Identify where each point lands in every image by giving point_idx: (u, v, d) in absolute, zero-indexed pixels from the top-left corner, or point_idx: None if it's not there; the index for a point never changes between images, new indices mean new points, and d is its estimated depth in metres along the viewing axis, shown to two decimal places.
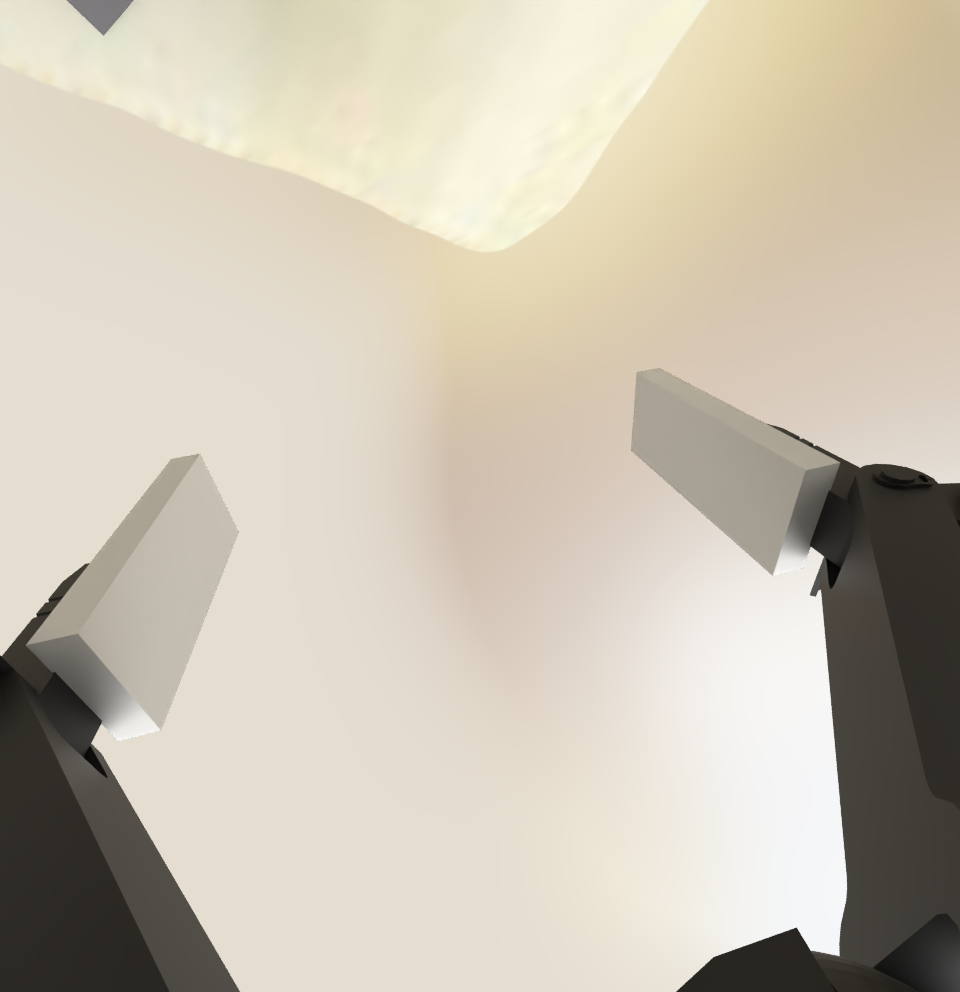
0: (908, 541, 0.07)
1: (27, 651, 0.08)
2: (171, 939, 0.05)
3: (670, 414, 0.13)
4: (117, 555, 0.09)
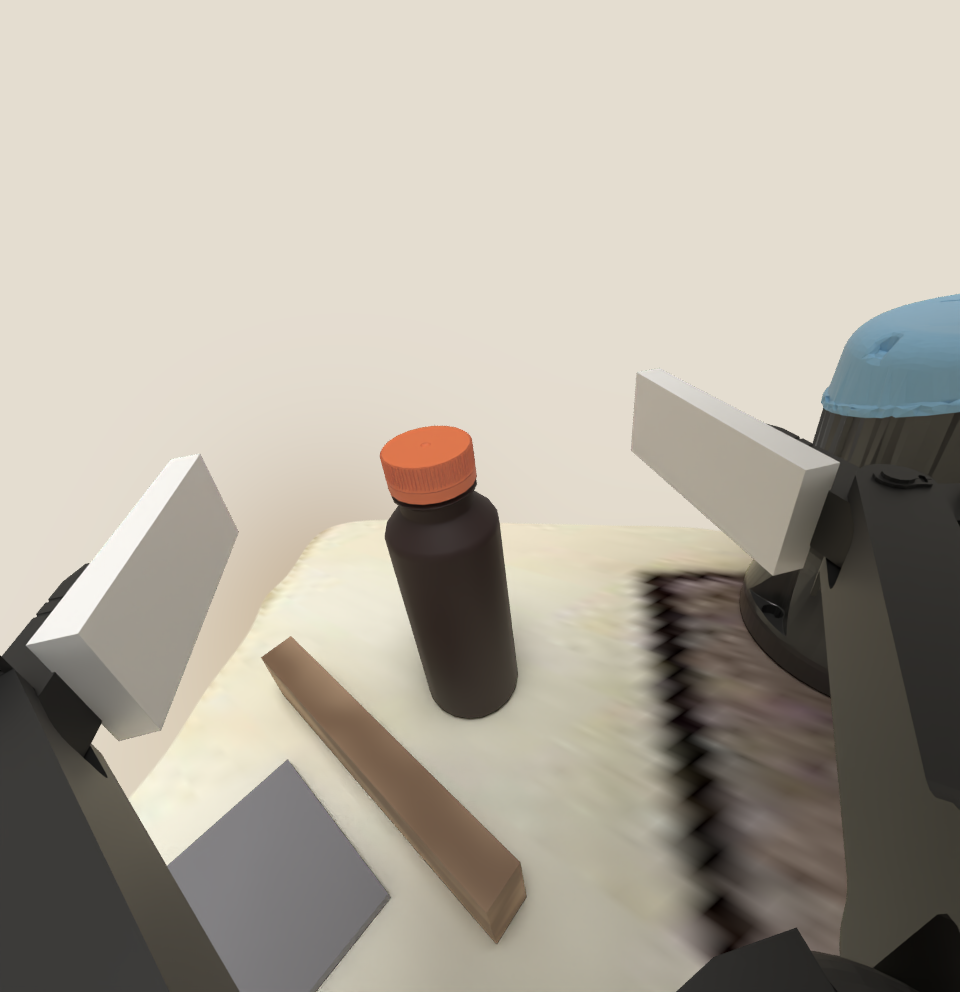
0: (908, 541, 0.07)
1: (27, 651, 0.08)
2: (171, 939, 0.05)
3: (670, 414, 0.13)
4: (117, 555, 0.09)
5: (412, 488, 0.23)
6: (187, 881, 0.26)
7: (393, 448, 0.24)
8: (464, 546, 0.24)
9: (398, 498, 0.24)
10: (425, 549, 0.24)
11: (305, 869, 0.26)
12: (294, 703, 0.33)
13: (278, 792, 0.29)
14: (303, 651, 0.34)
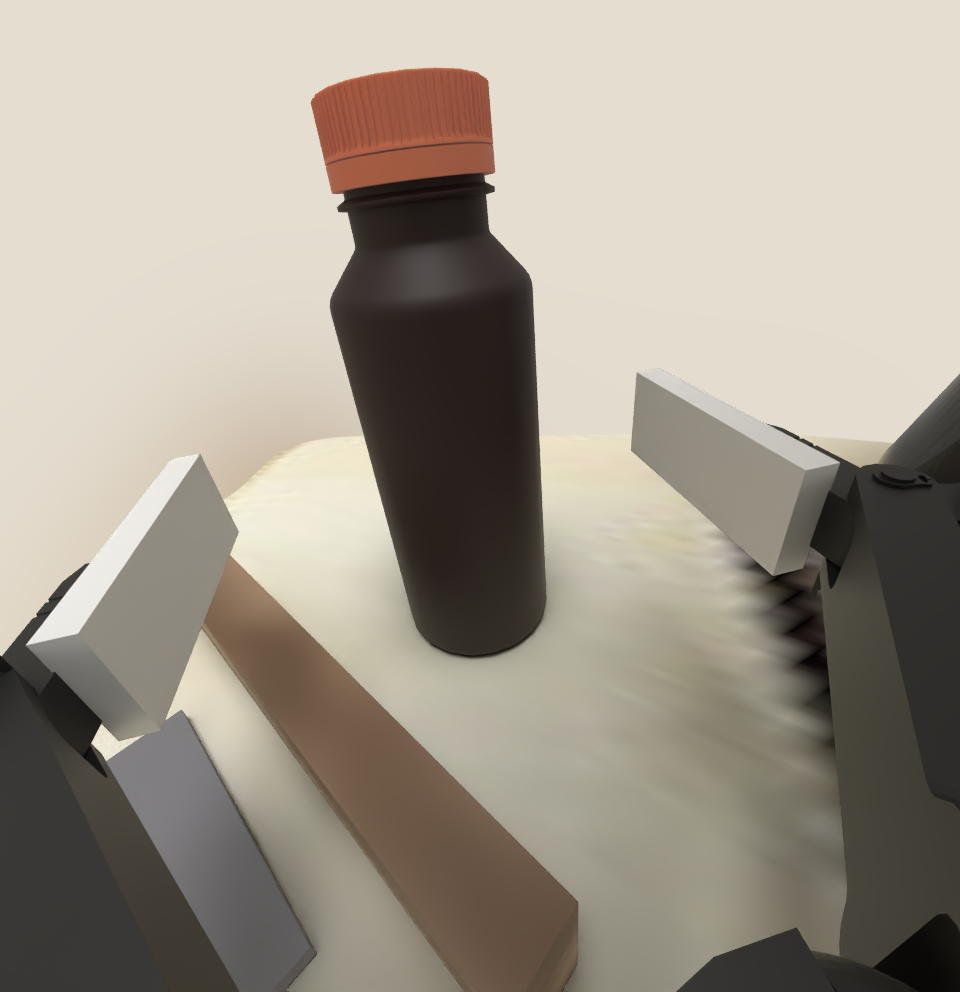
0: (908, 541, 0.07)
1: (27, 651, 0.08)
2: (171, 939, 0.05)
3: (670, 414, 0.13)
4: (117, 555, 0.09)
5: (369, 142, 0.12)
6: None
7: None
8: (470, 287, 0.13)
9: (344, 181, 0.12)
10: (396, 291, 0.13)
11: None
12: (205, 629, 0.22)
13: (154, 759, 0.18)
14: None
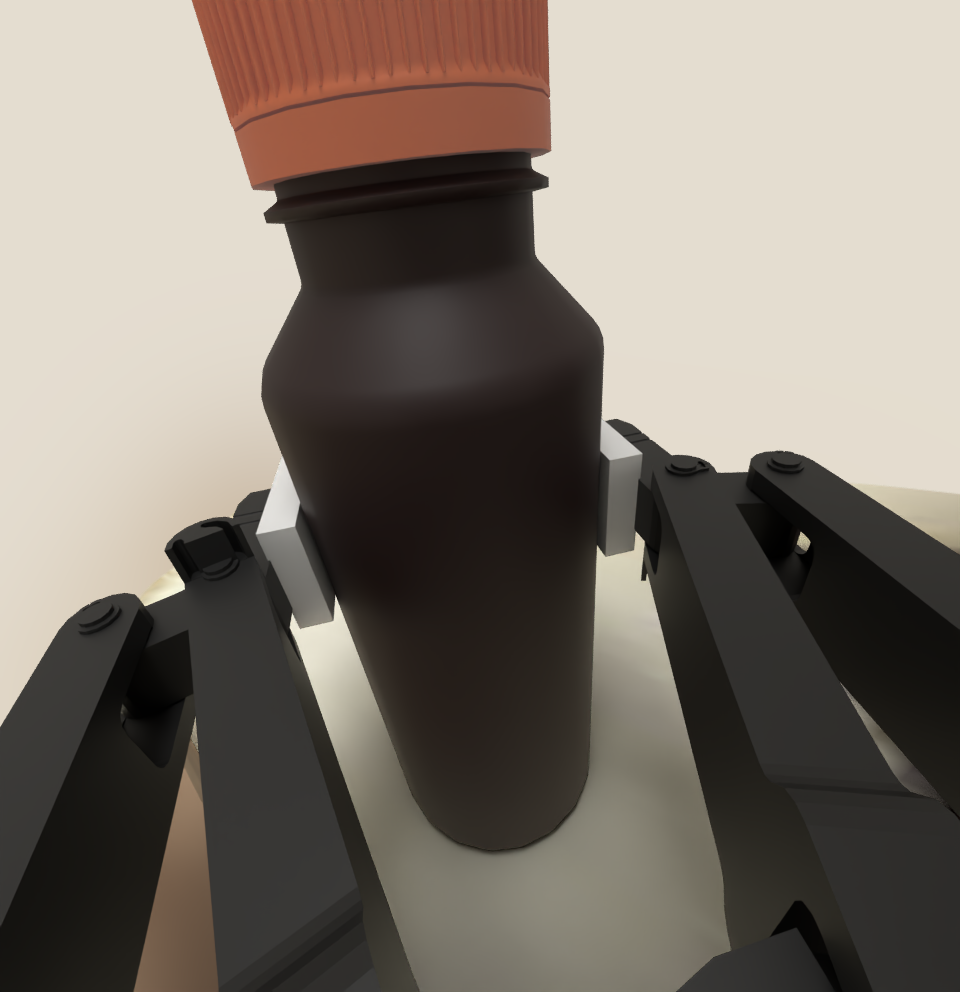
0: (702, 525, 0.08)
1: None
2: (343, 812, 0.06)
3: None
4: None
5: (304, 78, 0.05)
6: None
7: None
8: (510, 369, 0.07)
9: (263, 165, 0.06)
10: (368, 376, 0.07)
11: None
12: None
13: None
14: None
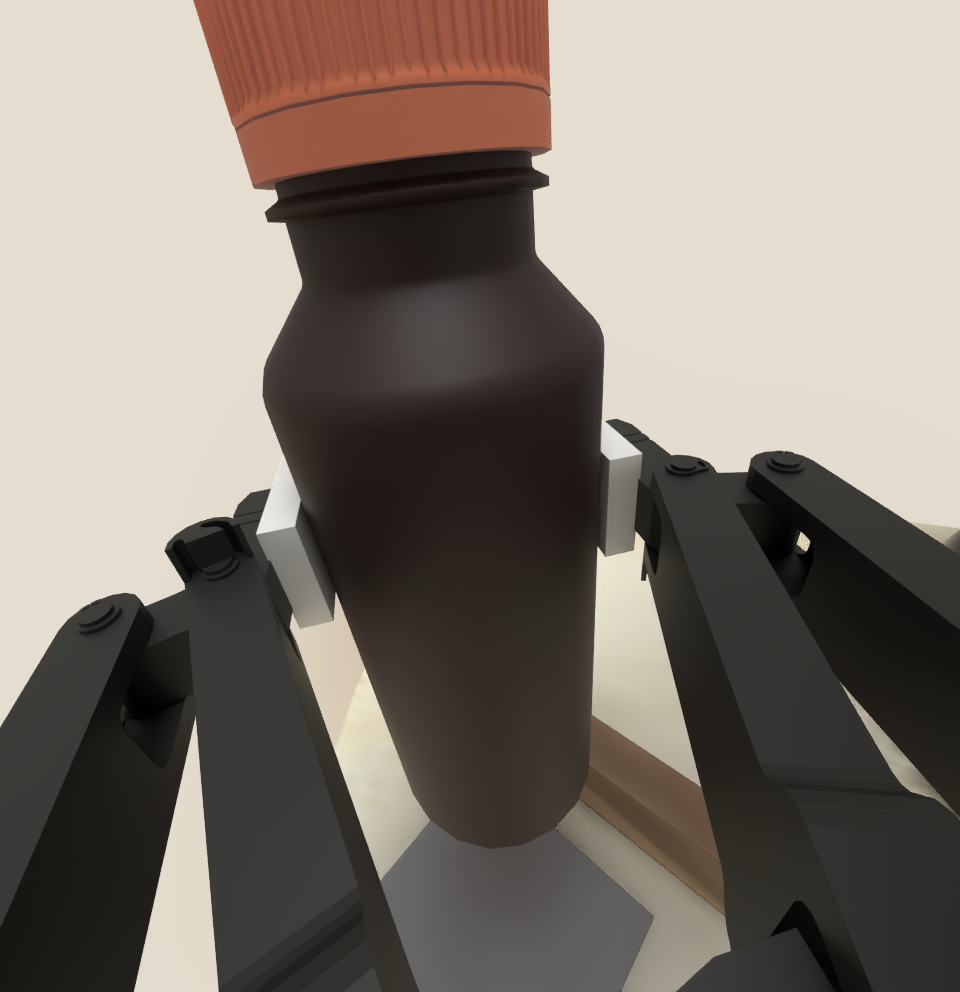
0: (702, 525, 0.08)
1: None
2: (343, 812, 0.06)
3: None
4: None
5: (306, 77, 0.05)
6: (409, 900, 0.23)
7: None
8: (512, 367, 0.07)
9: (263, 164, 0.06)
10: (369, 375, 0.07)
11: (544, 887, 0.23)
12: None
13: None
14: None
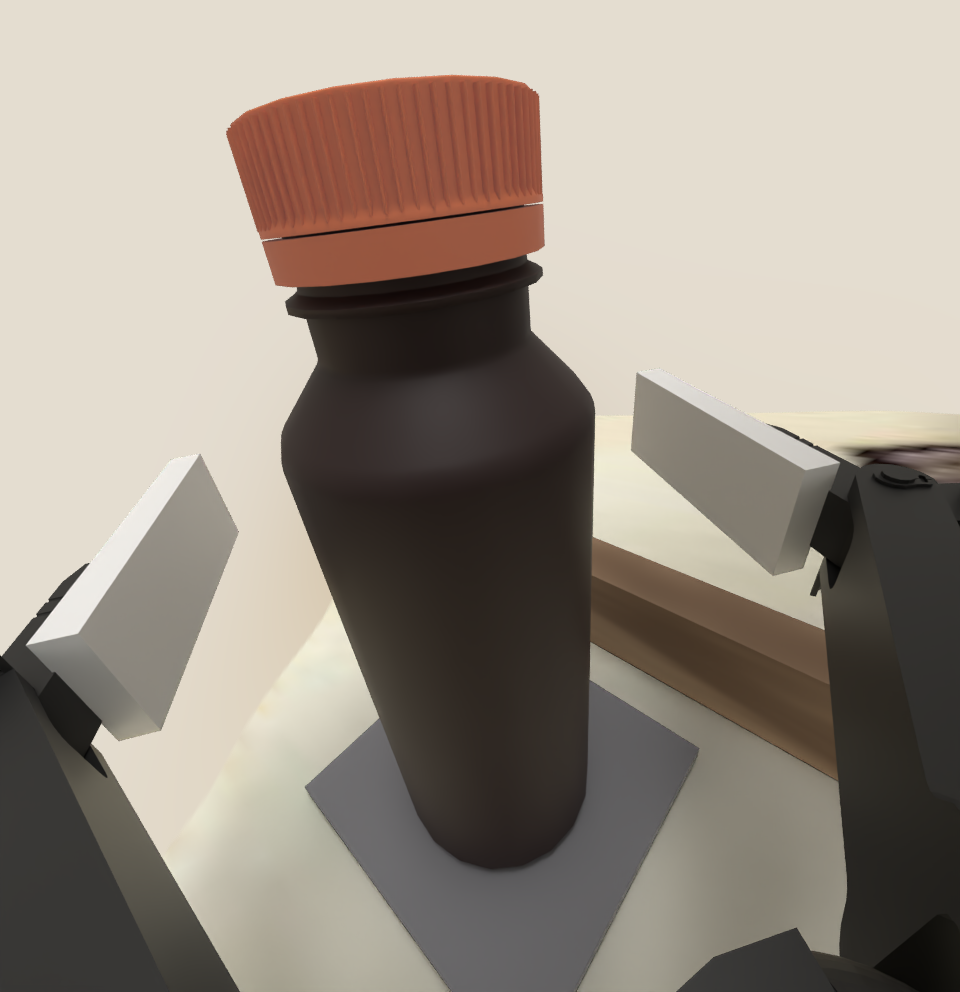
0: (908, 541, 0.07)
1: (27, 651, 0.08)
2: (171, 939, 0.05)
3: (670, 414, 0.13)
4: (117, 555, 0.09)
5: (327, 212, 0.06)
6: None
7: None
8: (508, 449, 0.08)
9: (288, 274, 0.07)
10: (380, 457, 0.07)
11: None
12: None
13: None
14: None
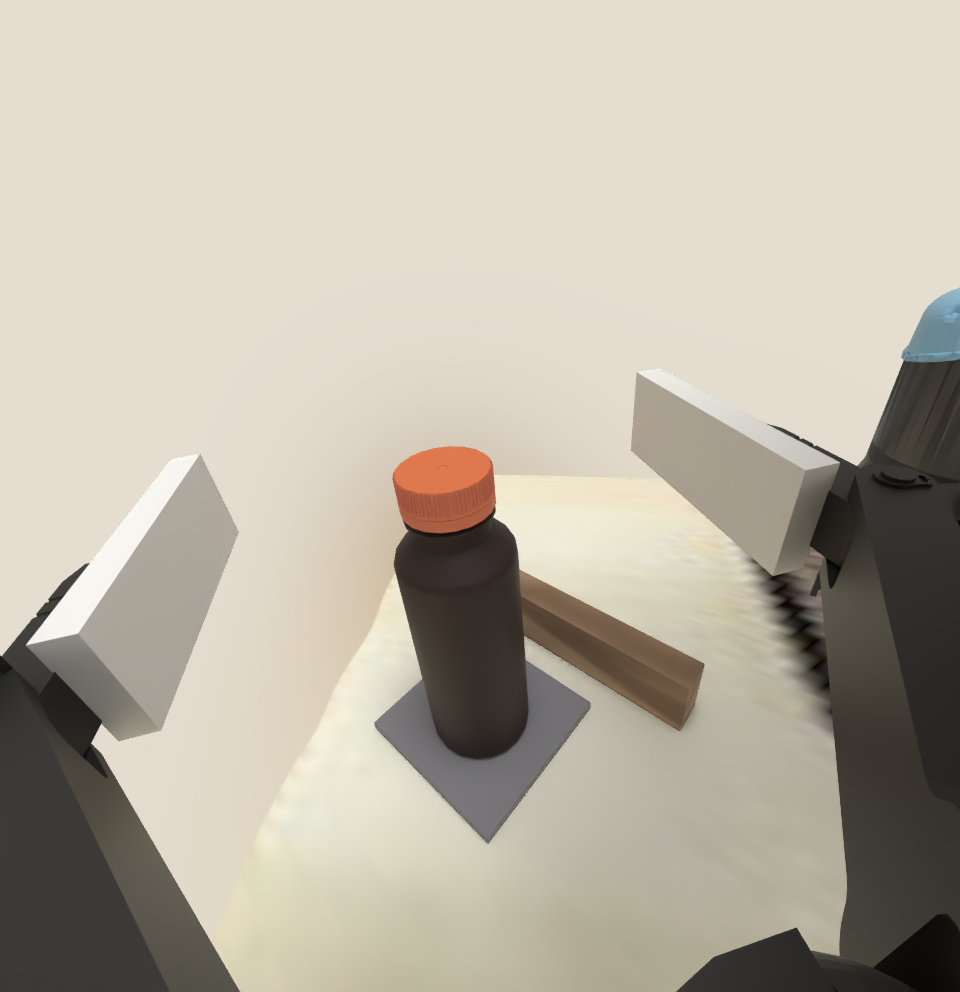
0: (908, 541, 0.07)
1: (27, 651, 0.08)
2: (171, 940, 0.05)
3: (670, 414, 0.13)
4: (117, 555, 0.09)
5: (427, 515, 0.21)
6: None
7: (407, 470, 0.23)
8: (481, 578, 0.23)
9: (411, 524, 0.22)
10: (439, 581, 0.22)
11: None
12: None
13: None
14: None
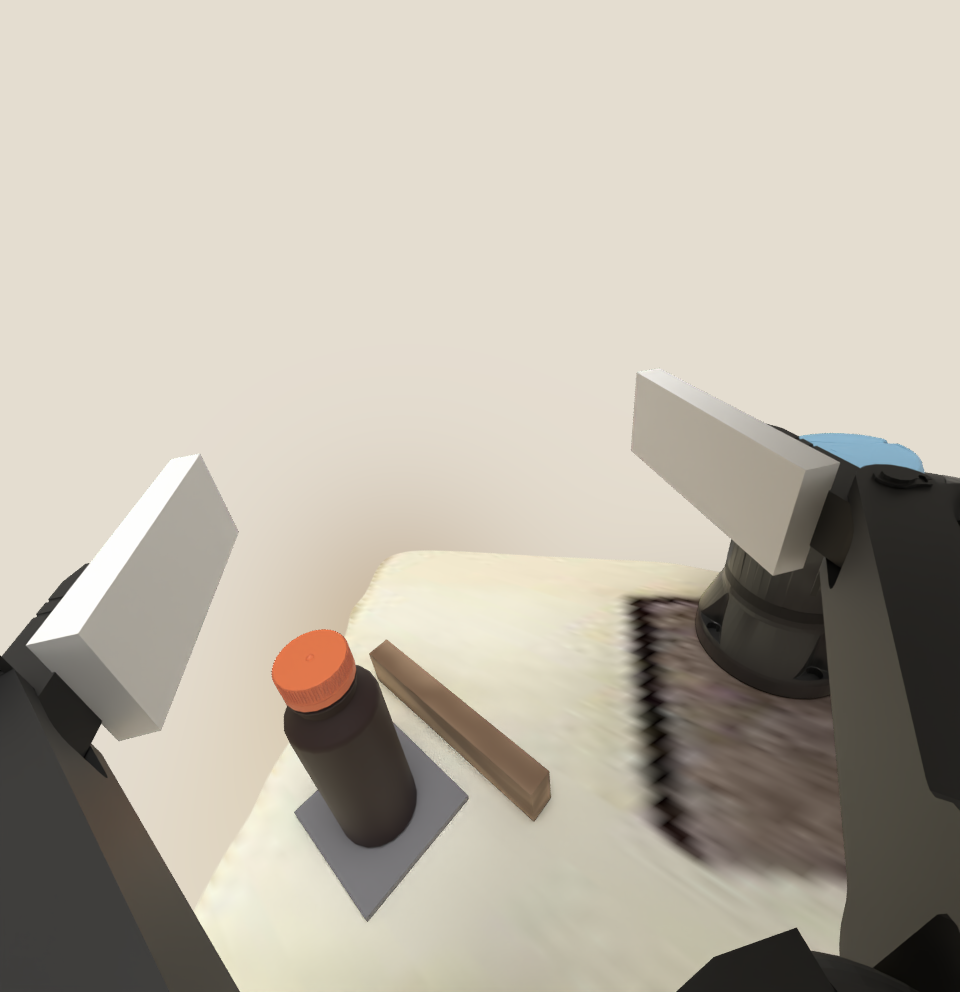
0: (908, 541, 0.07)
1: (27, 651, 0.08)
2: (171, 939, 0.05)
3: (670, 414, 0.13)
4: (117, 555, 0.09)
5: (294, 701, 0.29)
6: None
7: (284, 659, 0.30)
8: (341, 739, 0.30)
9: None
10: (308, 742, 0.30)
11: None
12: (391, 684, 0.50)
13: None
14: (397, 650, 0.50)
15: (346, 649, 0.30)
